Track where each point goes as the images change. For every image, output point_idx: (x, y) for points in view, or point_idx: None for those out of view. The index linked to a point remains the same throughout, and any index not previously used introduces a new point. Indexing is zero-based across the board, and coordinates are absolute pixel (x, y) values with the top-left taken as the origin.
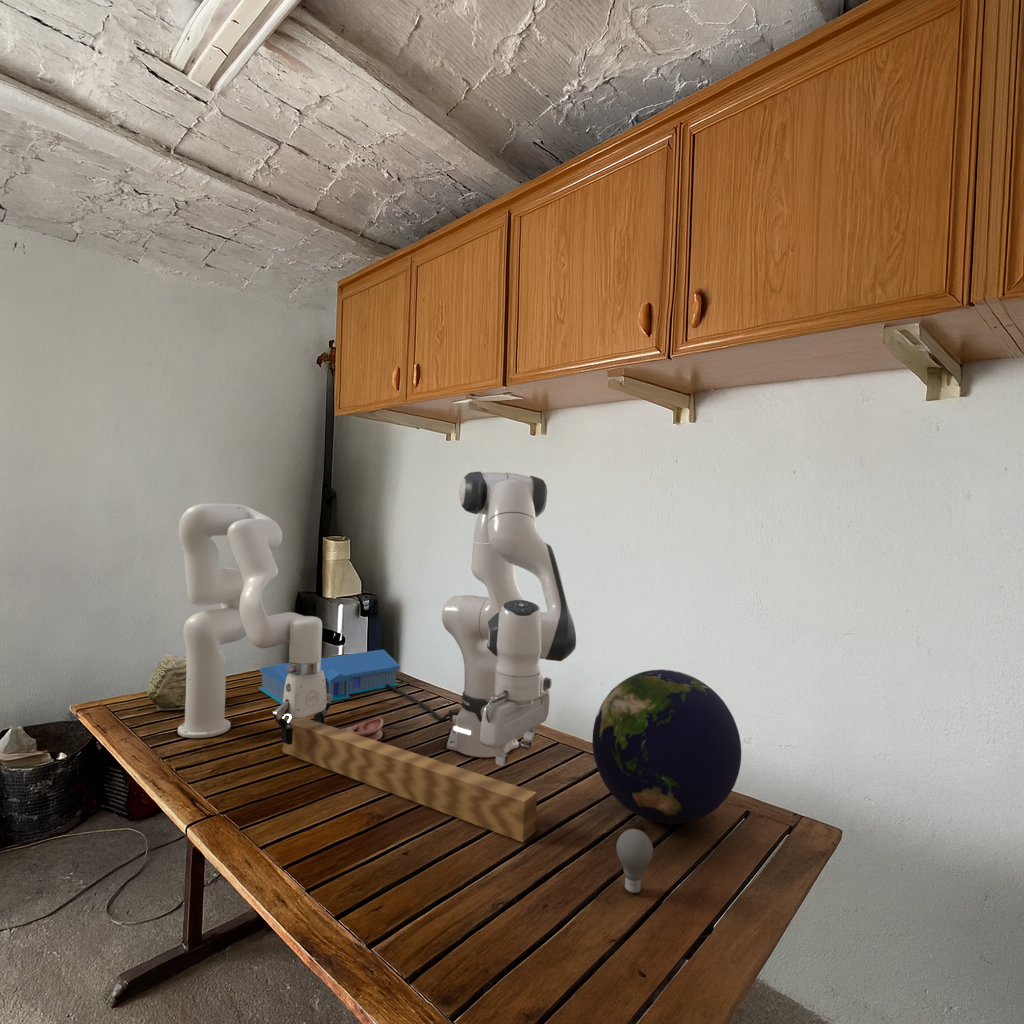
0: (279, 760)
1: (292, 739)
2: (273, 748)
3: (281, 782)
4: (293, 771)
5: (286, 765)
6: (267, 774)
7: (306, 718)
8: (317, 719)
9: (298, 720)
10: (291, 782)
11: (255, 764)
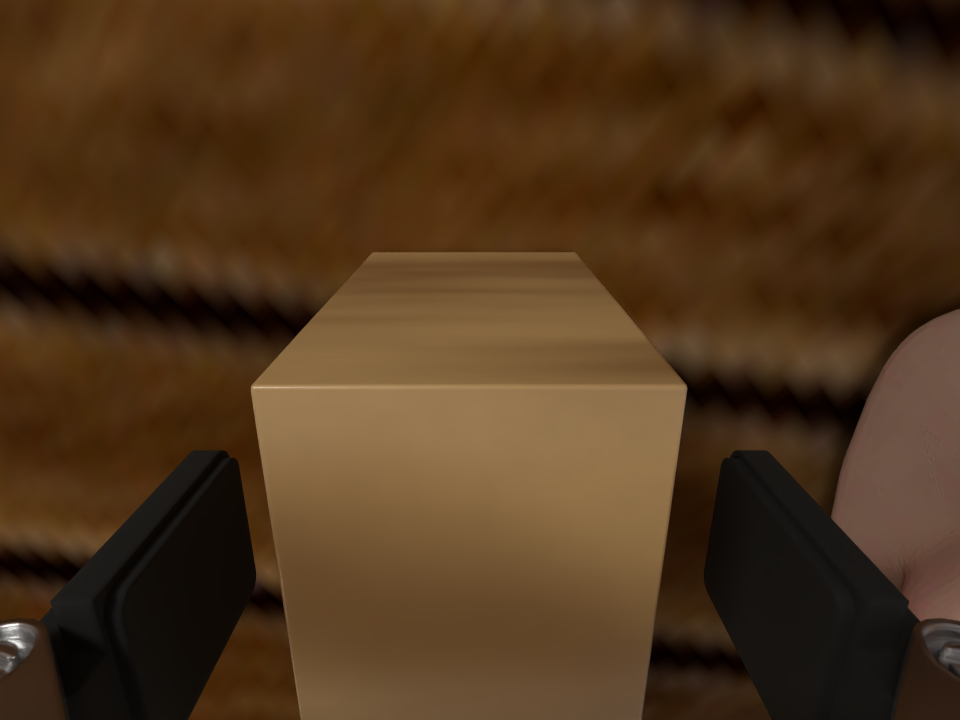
0: (244, 380)
1: (239, 617)
2: (374, 71)
3: None
4: None
5: None
6: (31, 519)
7: (646, 598)
8: (790, 641)
9: (475, 572)
10: None
11: (27, 285)
